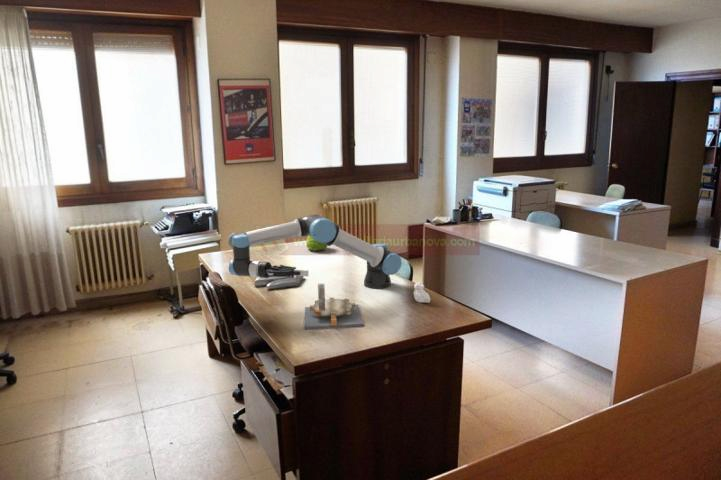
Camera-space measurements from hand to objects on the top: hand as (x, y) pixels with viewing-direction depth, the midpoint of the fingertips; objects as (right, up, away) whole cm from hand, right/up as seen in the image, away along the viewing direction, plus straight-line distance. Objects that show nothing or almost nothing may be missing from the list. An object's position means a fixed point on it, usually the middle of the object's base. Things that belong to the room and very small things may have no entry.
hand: (307, 273), depth 225 cm
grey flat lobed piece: (-22, -10, +62) cm, 66 cm away
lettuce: (-8, +8, +138) cm, 139 cm away
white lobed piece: (+11, -17, +8) cm, 22 cm away
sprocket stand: (+11, -21, +7) cm, 25 cm away
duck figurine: (+54, -16, +26) cm, 62 cm away
